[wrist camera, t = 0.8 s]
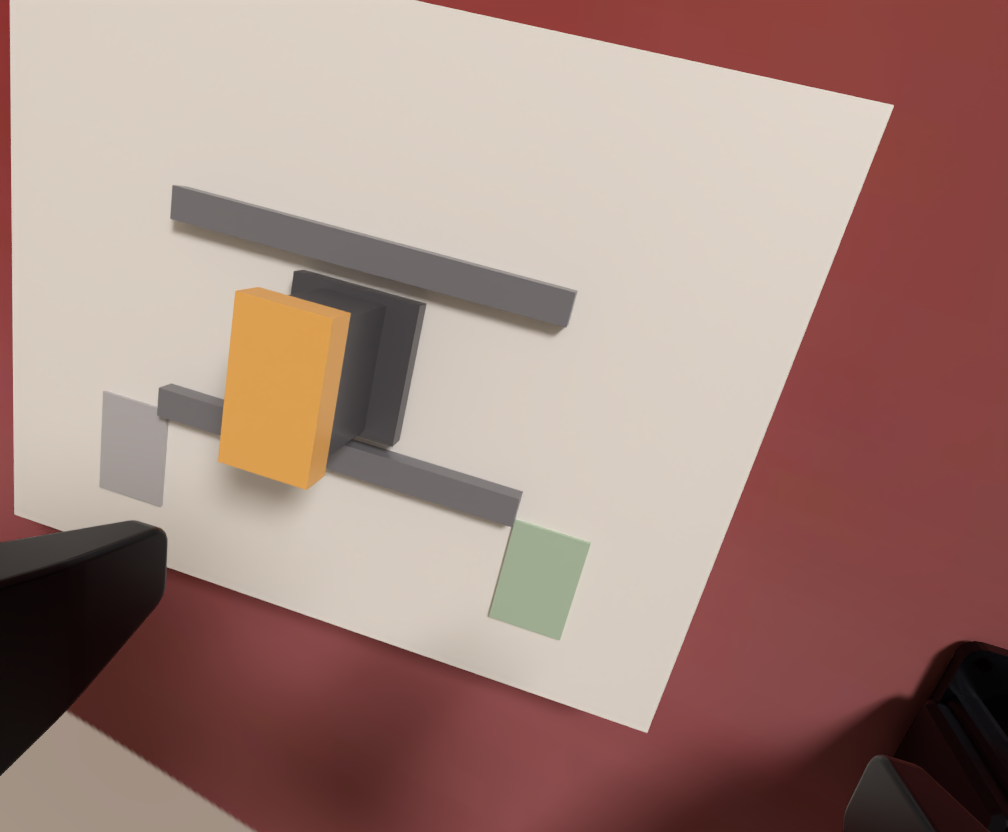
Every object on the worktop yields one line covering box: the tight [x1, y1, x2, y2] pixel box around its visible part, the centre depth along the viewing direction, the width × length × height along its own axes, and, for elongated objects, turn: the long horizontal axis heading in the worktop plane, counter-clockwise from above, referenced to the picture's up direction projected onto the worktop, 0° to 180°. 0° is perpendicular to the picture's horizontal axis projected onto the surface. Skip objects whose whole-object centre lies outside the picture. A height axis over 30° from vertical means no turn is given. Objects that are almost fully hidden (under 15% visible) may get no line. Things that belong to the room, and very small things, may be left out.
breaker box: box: [10, 0, 894, 733], centre depth 18 cm, size 20×16×4 cm
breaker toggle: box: [218, 270, 426, 490], centre depth 15 cm, size 3×4×4 cm
